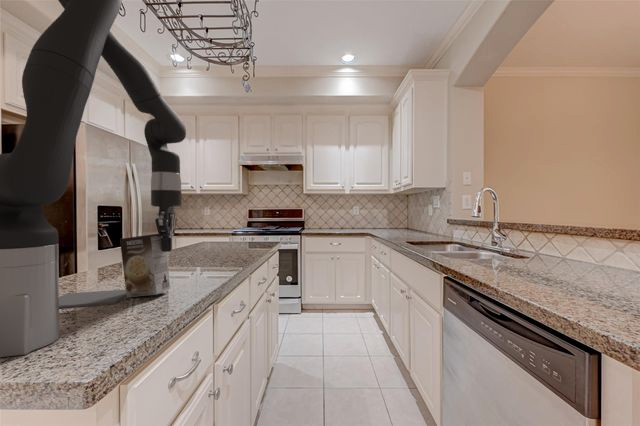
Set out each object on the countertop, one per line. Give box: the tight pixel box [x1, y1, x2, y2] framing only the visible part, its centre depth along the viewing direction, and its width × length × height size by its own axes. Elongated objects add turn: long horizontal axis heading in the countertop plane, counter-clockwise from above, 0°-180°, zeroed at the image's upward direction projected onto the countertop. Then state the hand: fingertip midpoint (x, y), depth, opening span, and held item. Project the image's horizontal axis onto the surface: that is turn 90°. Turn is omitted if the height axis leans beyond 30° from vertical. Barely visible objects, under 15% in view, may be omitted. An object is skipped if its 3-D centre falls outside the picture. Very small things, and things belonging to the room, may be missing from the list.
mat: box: [59, 288, 127, 309], centre depth 75 cm, size 12×16×1 cm
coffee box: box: [119, 233, 171, 298], centre depth 79 cm, size 9×6×16 cm
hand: (167, 251), depth 80 cm, fingers closed
